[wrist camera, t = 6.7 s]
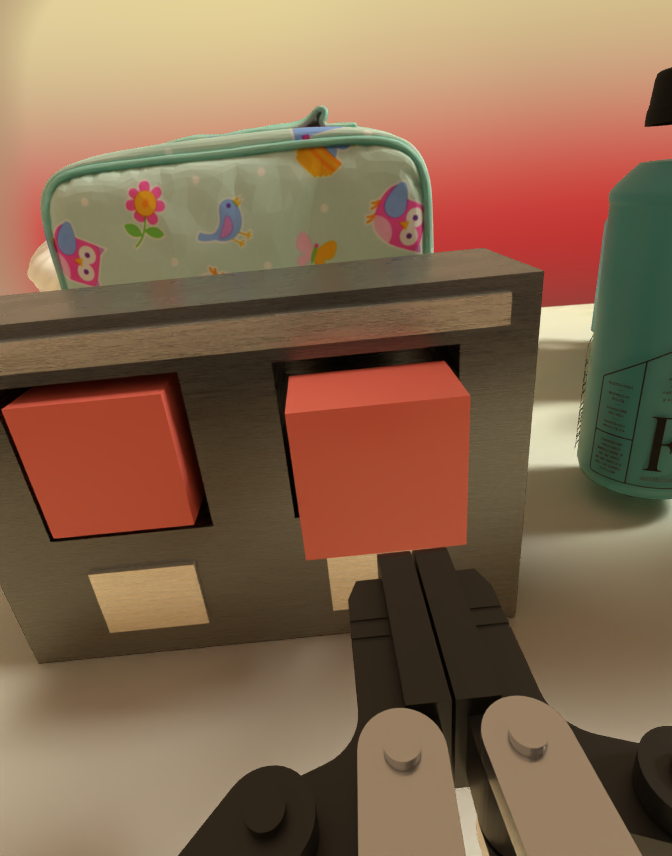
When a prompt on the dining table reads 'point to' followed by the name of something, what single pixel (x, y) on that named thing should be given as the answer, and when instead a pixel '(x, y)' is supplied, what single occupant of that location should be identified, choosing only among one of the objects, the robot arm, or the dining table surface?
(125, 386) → the rocker outlet
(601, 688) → the dining table surface
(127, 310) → the dark grey switch housing
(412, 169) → the lunch box
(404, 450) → the rocker outlet
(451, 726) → the robot arm
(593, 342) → the beverage bottle
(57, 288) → the soft serve ice cream cone
